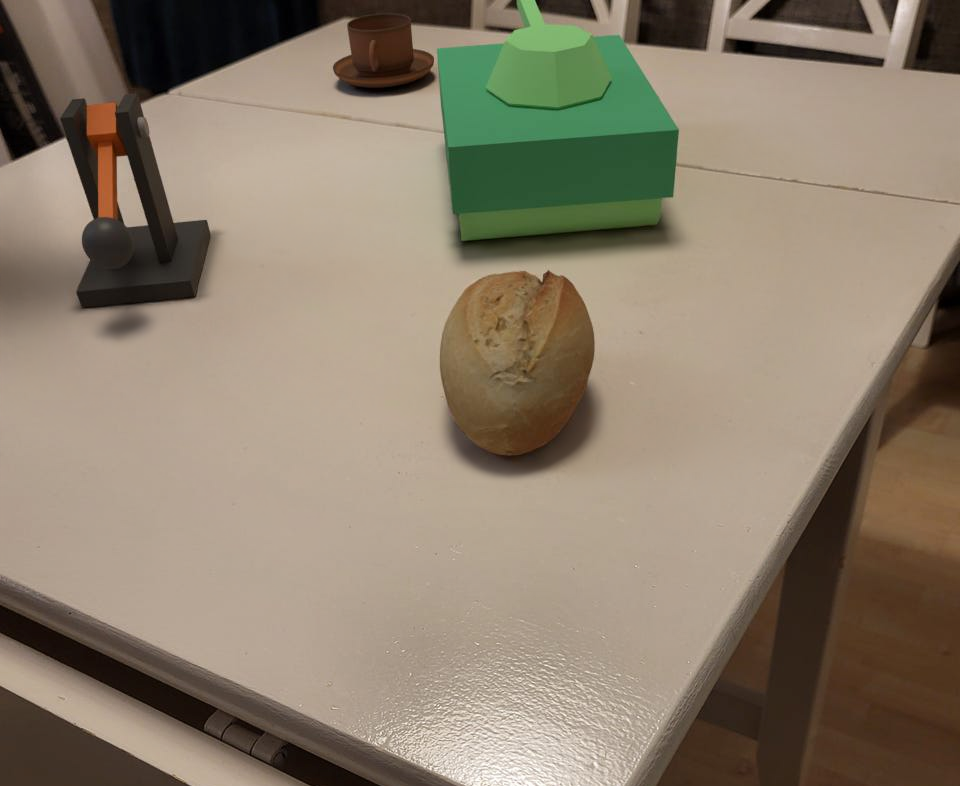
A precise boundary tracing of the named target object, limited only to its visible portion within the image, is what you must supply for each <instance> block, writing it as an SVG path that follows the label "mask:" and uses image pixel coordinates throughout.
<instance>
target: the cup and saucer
mask: <svg viewBox="0 0 960 786" xmlns="http://www.w3.org/2000/svg"><path fill="white" fill-rule="evenodd" d="M411 20H412V19H411V18H410V17H409V16H408V15H406V14H402V13H394V12H393V13H389V12H386V13H374V14H368V15H362V16H359V17H356V18H353V19H351V20H349V21H348V22H347V24H346V27H347V34H348V35H347V36H348V40H349V47H350V54H348V55H347V56H344V57H342V58H340V59H338V60H337V61H336V62H334V63H333V65H332V70H333V73H334V75H335V76H336V77H337V78H338V79H339V80H340V81H341V82H343V83H346V84H348V85H351V86H355V87H360V88H368V89H369V88H372V89H374V88H376V89H377V88H391V87H397V86H403V85H405V84H410V83H412V82H414V81H417V80H419V79H421V78H423V77H425V76H426V75H427V74H428V73H429V72H430V71H431V70H432V68H433V67H434V63H435V57H434V55H433V54H432V53H430V52H428V51H427V50H426V51H425V50H422V49H417V48H414V46H413V45H414V44H413V32H412V31H413V30H412V21H411Z"/></svg>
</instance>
